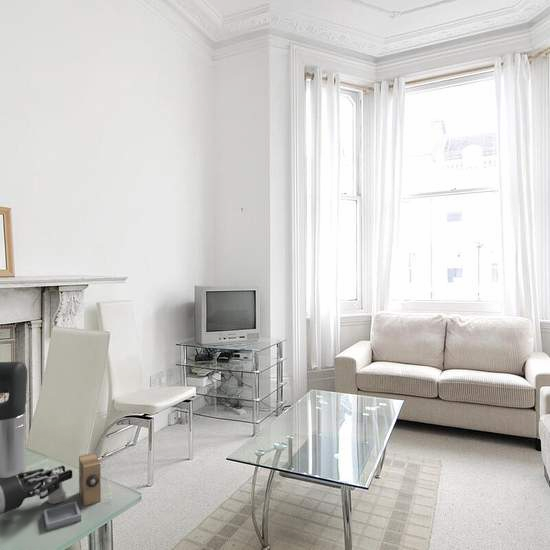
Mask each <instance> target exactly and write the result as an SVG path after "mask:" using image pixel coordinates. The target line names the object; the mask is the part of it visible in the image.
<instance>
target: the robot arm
mask: <svg viewBox="0 0 550 550" xmlns="http://www.w3.org/2000/svg"><path fill="white" fill-rule="evenodd" d="M27 385H28V369H27V365H26V364H25V363H24V362H23V361H0V394H8V398H7V400H5V401H2V402H0V479H1V480H0V516H2V515H4V514H7V513H8V512H11V511H13V510H16V509H18V508H19V507H21V506H22V505H23V503H24V501H25V499H29V498H32V497H35V496H39V499H40V500H43V499H45V498H48V495H50V494H51V493H53V492H54V491H56V490H57V489H59V483H61V482H62V483H64V482H66V481H68V480H71V479H72V478H73V470H71V469H67V470H66V467H65V466H64V465H60V466H58V467H55V468H52V469H44V468H38V469H34V470H29V471H25V470H26V467H27V466H26V465H27V462H26V460H27V459H26V458H27V457H26V455H27V454H26V452H27V451H26V449H27V448H26V405H27V391H28V390H27V388H28V387H27ZM57 468H59V470H60V468H62V471H63V472H62V473H59V474H57V475H54V476H50V474H51V473H52V470H53V469H55V470H57ZM24 471H25V472H24ZM51 480H52V481H51Z"/></svg>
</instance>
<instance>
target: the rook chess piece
mask: <svg viewBox="0 0 550 550" xmlns="http://www.w3.org/2000/svg"><path fill="white" fill-rule="evenodd" d="M56 468H57V467H56ZM52 469H53V470H52ZM52 469H51V470H52V473H51V474H50V476H54V475H57V474H59V473H62V472H63V471H62V468H60V470H59V468H57V470H55V469H54V468H52ZM50 481H52V480H50ZM66 499H67V491H66V490H65V488H64V485H63V482H61V483H59V489H57V490H56V491H54V492H53V493H51V494H50V495H48V496H47V502H48V503H49V504H51V505H57V504H60V503H63V502H64V501H65V500H66Z"/></svg>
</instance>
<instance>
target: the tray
mask: <svg viewBox="0 0 550 550" xmlns="http://www.w3.org/2000/svg"><path fill="white" fill-rule="evenodd" d="M43 520H44V525H45V530H46V532H48V531H52V530H56V529H58V528H62V527H65V526H68V525H71V524H76V523H79V522H81V521H82V513H81V511H80V508H79V506H78V502H77V500H74V501H72V502H67V503H63V504H61V505H60V504H59V505H57V506H54V507H49V508H46V509H43Z"/></svg>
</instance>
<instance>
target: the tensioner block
mask: <svg viewBox="0 0 550 550" xmlns="http://www.w3.org/2000/svg"><path fill="white" fill-rule="evenodd" d="M101 486H102V485H101V463H100V461H99V458H98V456H97V455H96V453H95V452H92V453H86V454H82V455H78V493H79V496H80V498H81V501H82V504H83V506H84V507H85V506H89V505H92V504H95V503H96V504H97V503H100V502H101V499H102V498H101V492H102V491H101Z"/></svg>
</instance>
